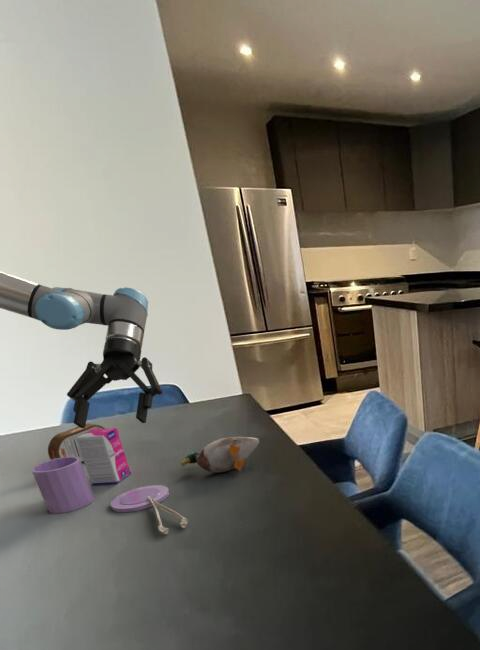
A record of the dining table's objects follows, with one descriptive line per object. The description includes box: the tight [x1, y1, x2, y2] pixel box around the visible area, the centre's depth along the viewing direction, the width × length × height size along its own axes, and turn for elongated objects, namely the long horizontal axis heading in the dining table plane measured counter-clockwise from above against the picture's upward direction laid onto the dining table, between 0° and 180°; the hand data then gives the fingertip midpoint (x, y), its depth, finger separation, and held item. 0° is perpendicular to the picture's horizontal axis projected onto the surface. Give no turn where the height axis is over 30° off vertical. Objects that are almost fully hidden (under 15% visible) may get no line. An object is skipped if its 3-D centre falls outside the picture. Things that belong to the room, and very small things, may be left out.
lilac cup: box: [30, 456, 95, 514], centre depth 99 cm, size 8×8×9 cm
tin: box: [47, 423, 106, 464], centre depth 123 cm, size 15×3×8 cm, turn 168°
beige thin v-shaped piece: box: [147, 496, 188, 535], centre depth 93 cm, size 17×5×2 cm, turn 43°
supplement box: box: [76, 427, 132, 487], centre depth 109 cm, size 6×6×12 cm
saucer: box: [110, 484, 170, 513], centre depth 100 cm, size 10×10×1 cm
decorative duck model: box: [180, 435, 260, 473], centre depth 113 cm, size 15×8×15 cm
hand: (110, 423), depth 112 cm, fingers open, 13 cm apart
